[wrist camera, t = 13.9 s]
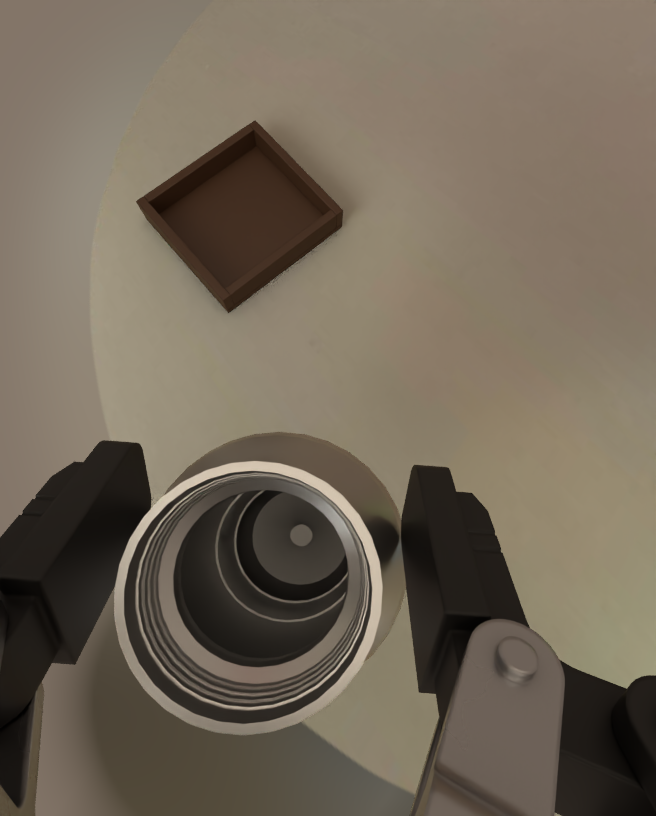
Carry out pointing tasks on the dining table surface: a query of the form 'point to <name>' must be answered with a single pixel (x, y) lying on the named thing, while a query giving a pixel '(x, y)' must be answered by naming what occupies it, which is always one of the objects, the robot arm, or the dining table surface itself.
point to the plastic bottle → (260, 583)
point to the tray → (241, 214)
